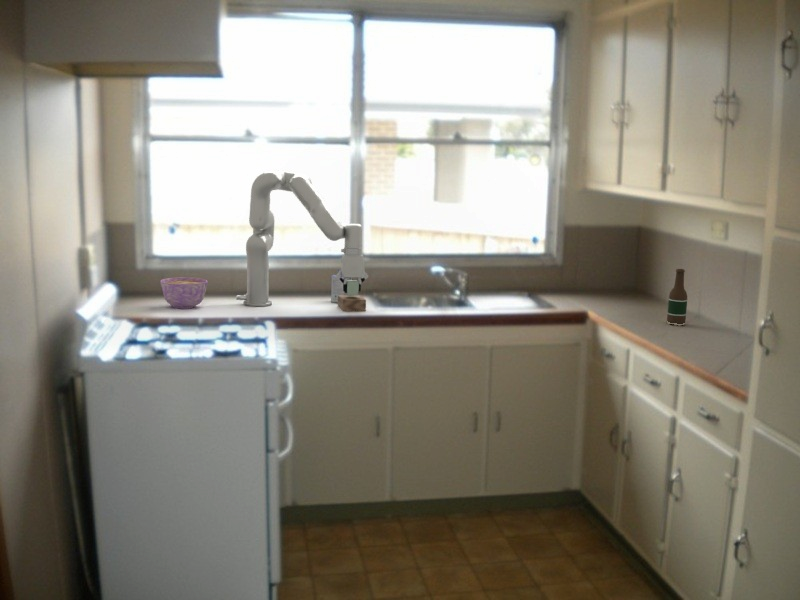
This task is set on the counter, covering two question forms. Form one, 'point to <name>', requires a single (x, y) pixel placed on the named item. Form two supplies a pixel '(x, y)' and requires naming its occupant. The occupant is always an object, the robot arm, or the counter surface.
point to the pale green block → (352, 288)
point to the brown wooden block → (351, 303)
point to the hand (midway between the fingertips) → (351, 292)
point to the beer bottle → (677, 300)
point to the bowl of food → (184, 291)
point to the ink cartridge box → (337, 287)
